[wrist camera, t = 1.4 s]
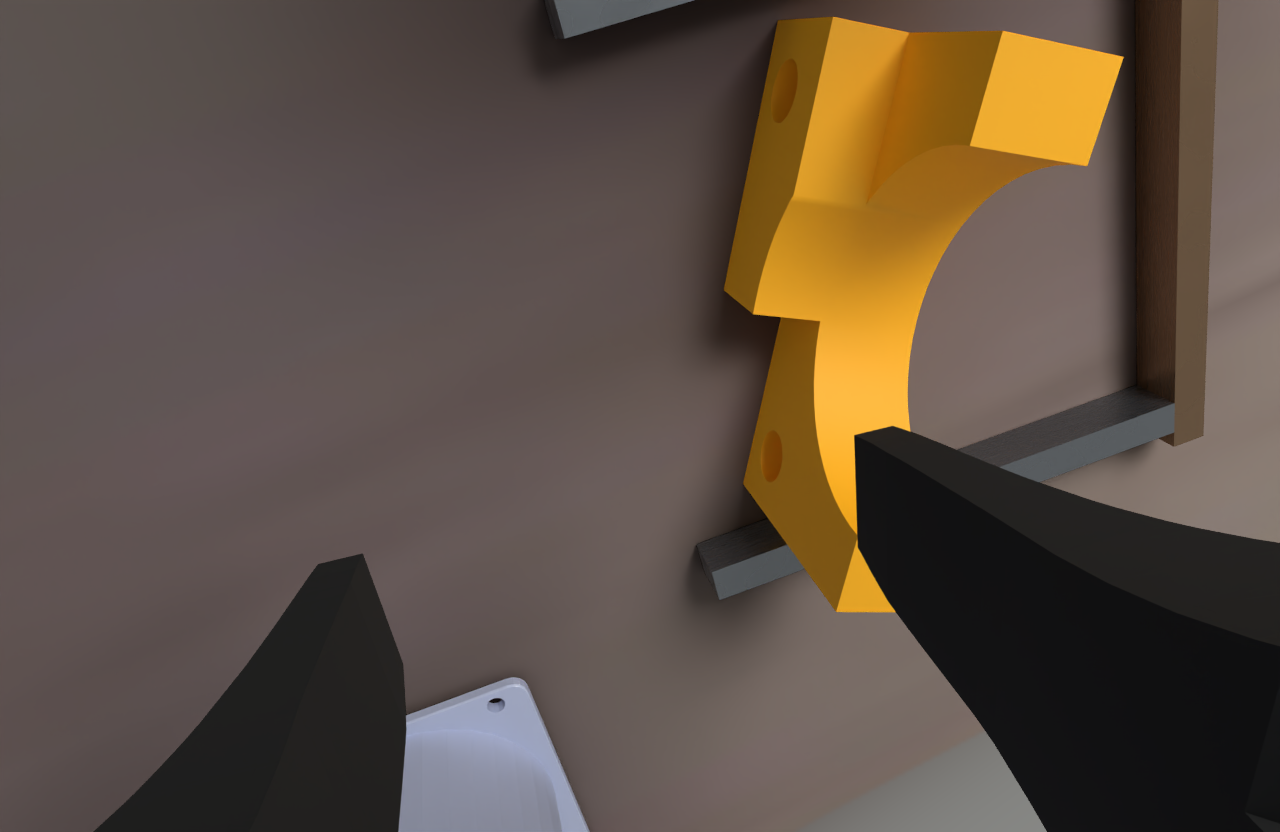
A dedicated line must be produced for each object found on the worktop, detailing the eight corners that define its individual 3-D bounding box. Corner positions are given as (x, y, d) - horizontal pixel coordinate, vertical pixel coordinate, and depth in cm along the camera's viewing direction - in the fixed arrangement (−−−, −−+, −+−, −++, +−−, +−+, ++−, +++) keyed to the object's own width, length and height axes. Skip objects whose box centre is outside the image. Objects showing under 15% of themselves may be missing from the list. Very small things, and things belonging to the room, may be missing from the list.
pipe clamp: (774, 20, 20) (914, 10, 15) (935, 53, 22) (1123, 56, 16) (683, 478, 25) (763, 611, 19) (821, 484, 26) (937, 612, 20)
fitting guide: (707, 584, 26) (723, 614, 25) (533, -35, 19) (542, -41, 17) (1164, 416, 28) (1203, 435, 26) (1173, -219, 20) (1226, -237, 19)
